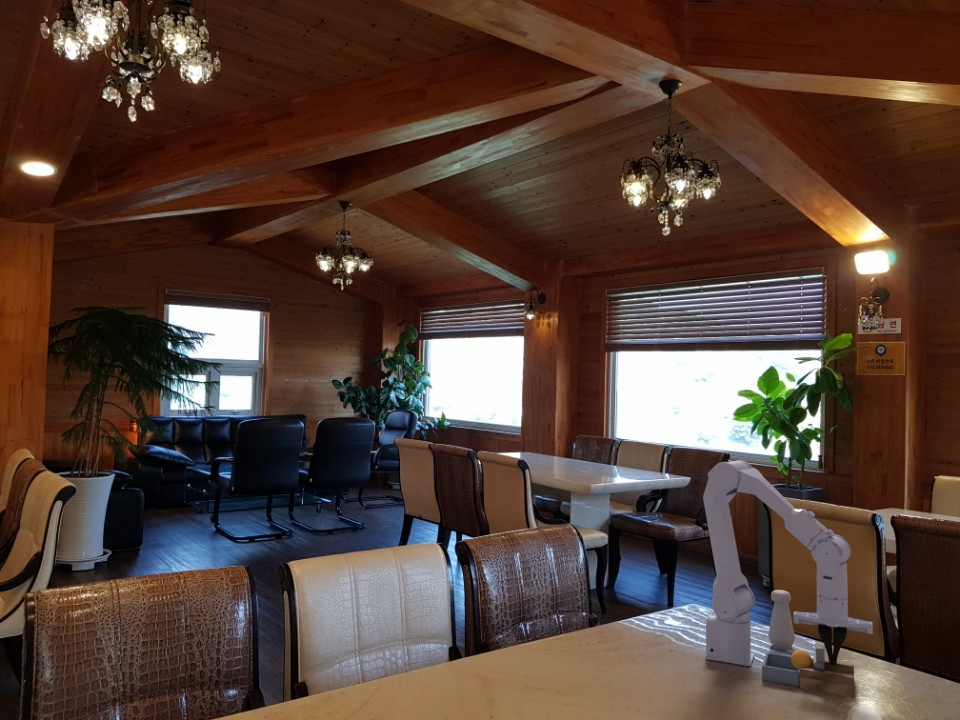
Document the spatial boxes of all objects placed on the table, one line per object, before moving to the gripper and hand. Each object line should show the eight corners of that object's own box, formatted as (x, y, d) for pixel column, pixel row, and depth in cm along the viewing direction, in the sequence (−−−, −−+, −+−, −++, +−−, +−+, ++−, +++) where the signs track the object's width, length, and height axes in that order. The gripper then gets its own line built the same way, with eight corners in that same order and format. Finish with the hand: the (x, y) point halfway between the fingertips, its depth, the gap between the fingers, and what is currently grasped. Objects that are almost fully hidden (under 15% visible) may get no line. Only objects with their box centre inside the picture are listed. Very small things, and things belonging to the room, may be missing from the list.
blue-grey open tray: (762, 680, 149) (761, 665, 149) (766, 666, 157) (766, 652, 157) (798, 687, 146) (798, 672, 146) (801, 672, 154) (801, 657, 154)
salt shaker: (797, 652, 165) (796, 595, 166) (771, 650, 166) (770, 593, 167) (791, 643, 171) (791, 588, 172) (766, 641, 172) (765, 587, 173)
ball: (815, 669, 147) (797, 676, 148) (816, 662, 150) (798, 669, 152) (804, 650, 148) (786, 657, 149) (805, 644, 151) (787, 651, 153)
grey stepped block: (813, 674, 146) (813, 648, 146) (814, 666, 151) (814, 641, 151) (824, 676, 145) (823, 650, 145) (824, 668, 150) (824, 642, 150)
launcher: (799, 688, 145) (799, 670, 145) (802, 671, 154) (802, 654, 154) (854, 698, 141) (854, 679, 141) (854, 680, 149) (853, 663, 150)
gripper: (792, 596, 147) (793, 663, 147) (872, 606, 141) (873, 676, 140) (794, 587, 154) (795, 652, 153) (871, 597, 147) (872, 664, 146)
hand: (832, 663), depth 147 cm, fingers closed
